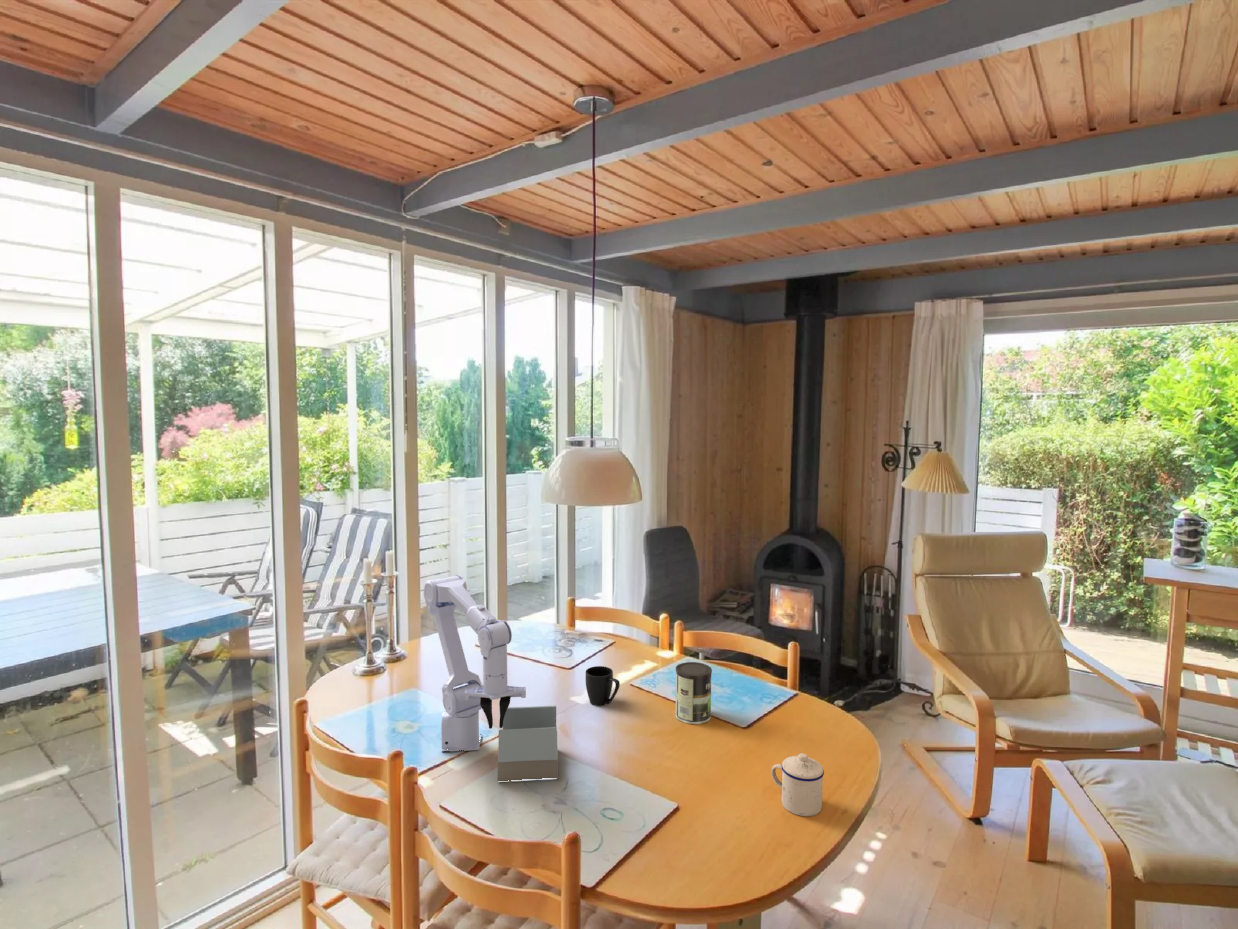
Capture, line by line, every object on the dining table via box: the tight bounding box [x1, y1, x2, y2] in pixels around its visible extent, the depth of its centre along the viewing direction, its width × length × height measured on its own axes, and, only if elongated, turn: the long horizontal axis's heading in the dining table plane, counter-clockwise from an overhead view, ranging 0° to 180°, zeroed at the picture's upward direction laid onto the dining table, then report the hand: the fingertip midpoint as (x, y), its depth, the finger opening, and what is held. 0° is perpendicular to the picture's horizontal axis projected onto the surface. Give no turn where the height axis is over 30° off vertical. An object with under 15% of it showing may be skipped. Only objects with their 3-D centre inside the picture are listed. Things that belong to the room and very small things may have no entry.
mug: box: [585, 665, 621, 707], centre depth 195 cm, size 8×12×10 cm
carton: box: [497, 753, 559, 782], centre depth 161 cm, size 14×14×5 cm
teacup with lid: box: [770, 752, 825, 817], centre depth 146 cm, size 12×9×12 cm
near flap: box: [497, 726, 558, 763], centre depth 154 cm, size 14×7×1 cm
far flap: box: [502, 705, 557, 730], centre depth 167 cm, size 14×7×1 cm
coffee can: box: [674, 661, 713, 725], centre depth 187 cm, size 10×10×14 cm
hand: (496, 726), depth 159 cm, fingers closed
